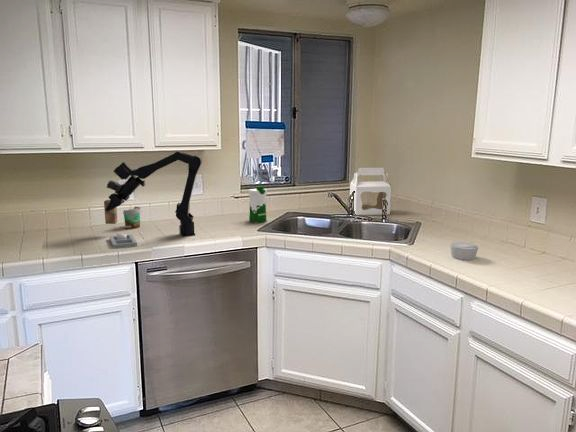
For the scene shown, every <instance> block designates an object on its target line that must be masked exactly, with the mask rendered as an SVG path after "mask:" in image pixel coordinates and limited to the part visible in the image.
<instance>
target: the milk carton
mask: <svg viewBox="0 0 576 432" xmlns="http://www.w3.org/2000/svg"><path fill="white" fill-rule="evenodd" d="M255 187H256V188H251V189H248V191H247V192H248V196H249V217H248V218H249V219H248V221H249V220H250V221H249V222H251V221H253V222H252V223H255V222H259V223H263V222H267V193H268V190H267V189H266V188H265V187H264V185H257V186H255Z"/></svg>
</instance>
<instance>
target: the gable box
mask: <svg viewBox="0 0 576 432" xmlns="http://www.w3.org/2000/svg"><path fill="white" fill-rule="evenodd" d="M359 176H360V177H361V176H382V181H381V180H380V181H379V180H378V181H377V180H376V181H375V180H374V181H359ZM388 176H389V175H388V172H385V168H384V167H358V168H357V171H356V172H354V173H353V176H352V177H353V178H352V180H351V182H350V183H349V196H350V195H351V194H352V192H353V191H355V193H354V211H355V214H356V215H355V214H354V215H355V216H373V215H375V216H378V215H382V198H385V199H386V200H387V202H388V206H387V214H386V215H390V213H391V196H392V193H391V191H392V186H391V185H392V184H391V182H390V180H389V177H388ZM366 192H368V193H378V195H377V197H376V204H375V205H371V204H363V202H362V197H361V196H362V193H366Z"/></svg>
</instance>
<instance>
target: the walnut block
mask: <svg viewBox="0 0 576 432" xmlns="http://www.w3.org/2000/svg"><path fill="white" fill-rule="evenodd" d="M109 203H110V199H105V200H104V201H103V207H104V220H105V224H104V225H116V224H117V223H118V209H117V208H118V207H116V208H113V209H111V210H109V211H106V208H107V206H108V205H109Z"/></svg>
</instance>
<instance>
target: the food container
mask: <svg viewBox="0 0 576 432" xmlns="http://www.w3.org/2000/svg"><path fill="white" fill-rule="evenodd" d="M141 213H142V209H141V207H139V206H134V208H129V209H127V210H124V209H123V213H122V214H123V218H124V227H125V230H135V229H138V228H140V227H141Z"/></svg>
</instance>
